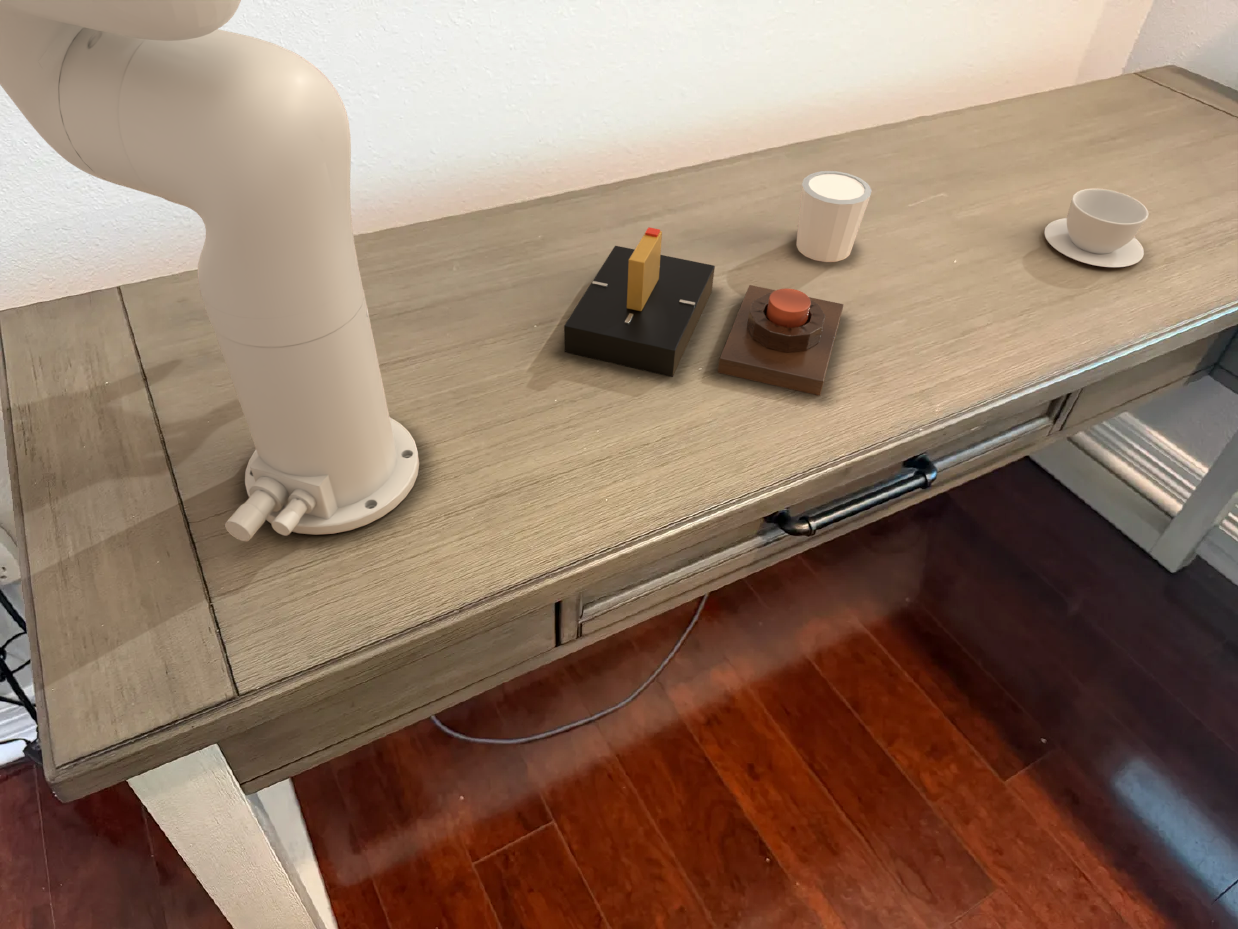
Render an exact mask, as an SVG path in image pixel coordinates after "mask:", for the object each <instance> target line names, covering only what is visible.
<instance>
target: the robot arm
mask: <svg viewBox="0 0 1238 929" xmlns="http://www.w3.org/2000/svg"><path fill="white" fill-rule="evenodd" d="M241 1H242V0H0V87H1V88H2V90H4V92H5V93H6V94H7V96H8V97H9V98H10V99H11V101H12V102H13V103H14V105H15V106H16V108H17V109H18V110H19V111H20V113H21V114H22V115H23V117H24V118H25V119H26V120H27V121H28V123H29V124H30V125H31V127H32V128H33V129H34V130H35V131H36V132H37V133H38V135H39V136H40V137H41V138H42V140H44V141H45V143H47V145H49V147H51V148H52V149H53V150H54V151H55V152H56V153H57V154H58V155H59V156H61V157H62V158H63V159H64V160H65V161H66V162H68V163H69V164H71V165H72V166H73V167H75V168H77V169H78V170H80V171H82V172H84V173H86V174H88V175H90V176H93V177H95V178H97V179H100V180H103V181H106V182H107V183H111V184H115V185H118V186H120V187H121V186H122V187H125V188H128V189H131V190H135V191H138V192H141V193H145V194H148V195H152V196H155V197H159V198H161V199H164V200H166V201H167V202H170V203H174V204H177V205H180V206H183V207H186V208H187V209H190V210H192V211H193V212H195V213H196V214H197V215H198V217H200V219H201V221H202V222H203V224H204V228H205V237H204V238H205V239H204V243H203V246H202V249H201V252H200V256H199V259H198V263H197V275H196V276H197V284H198V285H197V286H198V290H199V295H200V297H201V301H202V304H203V307H204V309H205V313H206V315H207V319H208V321H209V324H210V325H211V327H212V330H213V333H214V335H215V338H216V341H217V344H218V347H219V350H220V352H221V356H222V358H223V360H224V363H225V366H226V370H227V373H228V375H229V377H230V380H231V383H232V386H233V389H234V392H235V394H236V397H237V399H238V402H239V406H240V408H241V411H242V414H243V416H244V420H245V422H246V425H247V428H248V430H249V433H250V435H251V439H252V442H253V444H254V448H255V450H254V451H253V453H252V455H251V456H250V458H249V459H248V463H247V466H246V468H245V471H244V472H245V473H244V485H245V490H246V494H247V496H248V498H247V500H246V501H245V502H244V503H242V504H240V505H239V506H238V508H237V509H236V510H235V511H234V512H233V513H232V515H231V516H230V517H229V518H228V519H227V521H226V522H225V524H224V527H225V530H226V531H227V532H228V533H229V535H231V536H232V537H234V538H235V539H236V540H238V541H241V542H249V541H250V540H251V539H252V538H253V537H254V536H255V534H256V533H257V532H258V531H259V529H261V527H262V526H263V525H264V524H265V522H266V521H267V522H268V523H270V524H271V528H272V529H273V530H274V531H275V532H276V533H277V534H279V535H281V536H285V537H288V536H289V535H291V533H292V532H293V533H296V534H303V535H304V534H305V535H316V536H317V535H330V534H331V535H332V534H337V533H338V534H339V533H343V532H349V531H352V530H355V529H359V528H361V527H364V526H366V525H369V524H371V523H373V522H375V521H377V520H379V519H381V518H382V517H384V516H385V515H387V514H388V513H390V512H391V511H393V510H394V509H395V508H397V506H398V505H399V504H400V503H402V501H404V500H405V498H407V496H408V495H409V493H410V492H411V490H412V489H413V488H414V485H415V483H416V480H417V478H418V476H419V469H420V459H419V451H418V448H417V445H416V441H415V439H414V437H413V436H412V434H411V433H410V431H409V430H408V429H407V428H406V427H405V426H404V425H402V423H400V422H399V421H397V420H396V419H393V418H392V417H391V416H390V413H389V408H388V402H387V398H386V393H385V389H384V383H383V378H382V374H381V368H380V363H379V358H378V354H377V348H376V343H375V340H374V335H373V334H374V333H373V329H372V325H371V320H370V315H369V308H368V304H367V299H366V294H365V290H364V286H363V282H362V277H361V272H360V267H359V266H360V265H359V260H358V256H357V250H356V244H355V237H354V236H355V235H354V229H353V222H352V221H353V220H352V208H351V207H352V206H351V171H352V170H351V168H352V166H351V165H352V164H351V163H352V139H351V138H352V137H351V128H350V122H349V121H350V120H349V117H348V113H347V110H346V107H345V104H344V101H343V99H342V97H341V95H340V94H339V92H338V90H337V89H336V87H335V86H334V84H333V83H332V81H331V80H330V79H329V78H328V76H326V74H324V72H323V71H321V69H319V68H318V67H316V65H314V64H313V63H312V62H310V61H309V60H307V59H306V58H304V57H303V56H301V55H299V54H298V53H296V52H295V51H292V50H290V49H287V48H286V47H283V46H280V45H279V44H276V43H273V42H271V41H267V40H264V39H261V38H258V37H254V36H250V35H246V34H242V33H237V32H232V31H229V30H225V29H224V30H223V29H220V28H222V27H224V26H225V25H226V24H227V23H229V22H230V20H231V19H232V18H233V17H234V15H235V14H236V12H237V10H238V8H239V6H240V4H241Z"/></svg>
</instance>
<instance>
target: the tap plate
mask: <svg viewBox="0 0 1238 929" xmlns="http://www.w3.org/2000/svg"><path fill="white" fill-rule="evenodd" d="M635 249H636V248H629V247H625V246H620V245H614V247H613V248H612V250H611V251H610V253H609V255H607V257H606V258H605V261H604V262H603V264H602V265H601V267H600V269H599V270H598V272H597V273H596V275H595V276H594V278H593V280H592V281H591V283H590V284H589V286H588V288H587V289H586V291H585V292H584V293H583V295H582V297H581V298H580V300H579V301H578V303H577V305H576V306H575V308H574V310H573V311H572V312H571V314H570V316H569V317H568V318H567V320H566V322H565V324H564V325H563V328H564V329H563V332H564V333H563V334H564V335H563V337H564V338H563V339H564V340H563V341H564V343H563V344H564V346H563V347H564V353H566V354H571V355H574V356H579V357H583V358H587V359H592V360H596V361H600V362H604V363H609V364H614V365H618V366H623V367H626V368H630V369H635V370H639V371H643V372H648V373H653V374H657V375H661V376H665V377H669V378H670V377H671V378H673V377H674V375H675V373H676V371H677V369H678V367H679V364H680V362H681V360H682V358H683V356H684V354H685V351H686V349H687V347H688V345H689V342H690V340H691V338H692V336H693V334H694V331H695V329H696V327H697V325H698V323H699V320H700V318H701V317H702V314H703V311H704V310H705V307H706V305H707V303H708V300H709V299H710V297H711V294H712V292H713V284H714V276H715V268H716V265H713V264H708V263H704V262H698V261H693V260H689V259H684V258H679V257H674V256H669V255H663V254H661V255H660V269H659V280H658V281H657V283H656V285H655V287H654V289H653V291H652V292H651V294H650V296H649V298H648V300H647V302H646V304H645V305H644V307H643V309H642V311H637V310H633V309H628V308H627V288H628V265H629V259H630V257H631V255H632V254H633V252H634V250H635Z"/></svg>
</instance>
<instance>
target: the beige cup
mask: <svg viewBox="0 0 1238 929" xmlns="http://www.w3.org/2000/svg"><path fill="white" fill-rule="evenodd" d="M871 194H872V188H871V186H870V185H869V183H868V182H867V181H865V180H864V179H862V178H861V177H859V176H856V175H854V174H851V173H848V172H842V171H836V170H820V171H816V172H813V173H810V174H808V175H807V176H805V177H804V178H803V179H802V183H801V188H800V202H799V211H798V212H799V213H798V221H797V222H798V223H797V234H796V243H795V244H796V245H795V246H796V248H797V250H798V252H799V253H801V254H802V255H803V256H804V257H806V258H808V259H811V260H813V261H817V262H822V263H836V262H839V261H843V260H845V259H847V258H848V257H849V256H851V252H852V249H853V247H854V244H855V241H856V238H857V236H858V233H859V230H860V227H861V224H862V222H863V218H864V216H865V212H866V211H867V210H866V209H867V207H868V204H869V201H870V198H871Z"/></svg>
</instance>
